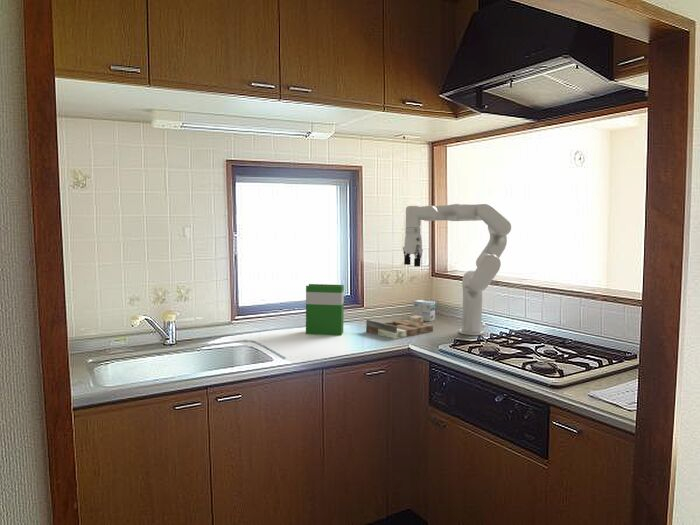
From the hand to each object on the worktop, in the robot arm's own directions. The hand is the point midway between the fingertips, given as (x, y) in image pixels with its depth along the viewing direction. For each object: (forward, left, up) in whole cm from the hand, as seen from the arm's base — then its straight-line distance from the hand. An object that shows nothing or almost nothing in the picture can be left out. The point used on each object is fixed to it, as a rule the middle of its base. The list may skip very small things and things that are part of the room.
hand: (412, 265), depth 259 cm
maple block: (-7, -3, -31) cm, 32 cm away
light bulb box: (-32, -19, -34) cm, 51 cm away
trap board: (+2, -6, -34) cm, 35 cm away
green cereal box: (+34, -27, -34) cm, 55 cm away
